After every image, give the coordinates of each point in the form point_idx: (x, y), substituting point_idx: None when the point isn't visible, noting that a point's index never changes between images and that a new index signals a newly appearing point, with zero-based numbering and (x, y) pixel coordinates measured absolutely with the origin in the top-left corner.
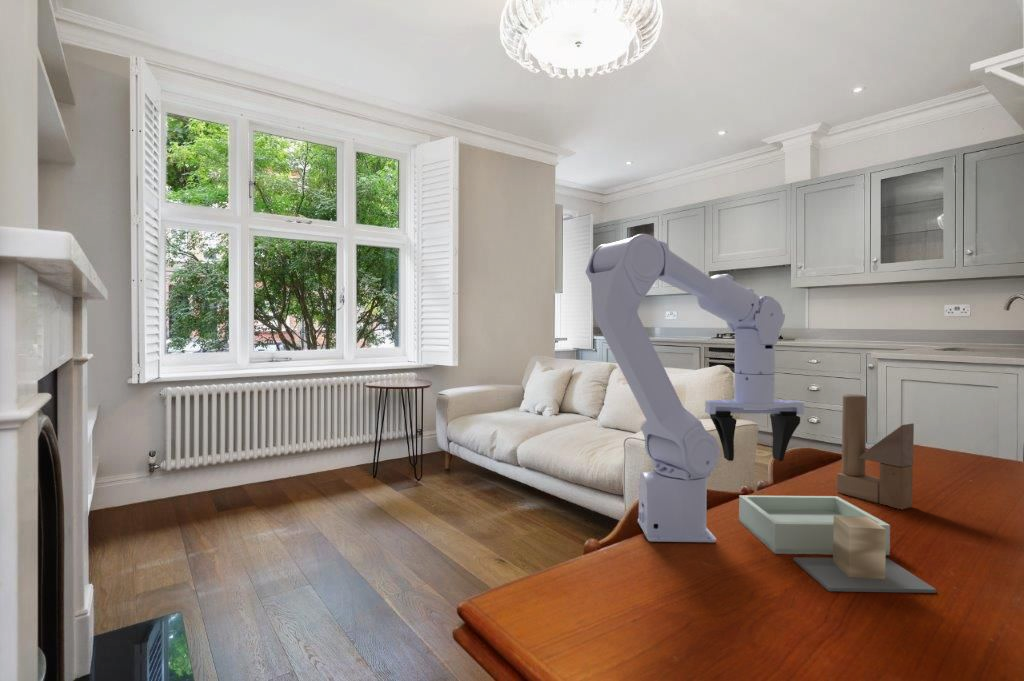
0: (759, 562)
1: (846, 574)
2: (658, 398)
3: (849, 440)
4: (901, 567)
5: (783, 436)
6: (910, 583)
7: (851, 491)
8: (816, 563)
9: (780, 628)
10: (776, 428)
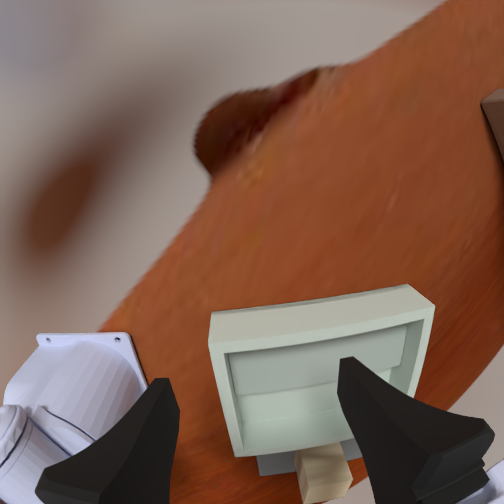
0: (206, 441)
1: (294, 458)
2: None
3: None
4: None
5: (368, 468)
6: (348, 455)
7: (498, 130)
8: None
9: (196, 501)
10: (385, 455)
